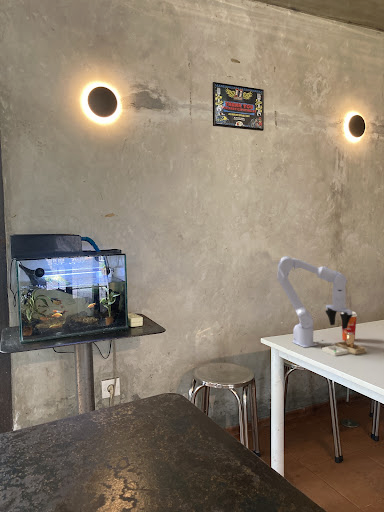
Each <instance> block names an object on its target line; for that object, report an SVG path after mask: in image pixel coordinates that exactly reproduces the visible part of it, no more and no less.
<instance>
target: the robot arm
mask: <svg viewBox="0 0 384 512" xmlns="http://www.w3.org/2000/svg"><path fill="white" fill-rule="evenodd" d="M292 269H296V270H298V269H303V270H306V271H307V272H311V273H313V274H315V275H316V277H317V278H319V279H321V280H324V281H326V282H327V283H332V295H331V296H332V302H331V303H332V304H326V305H325V309H326V310H325V314H326V315H327V317H328V320H329V324H330V326H334V325H335V324H336V316H337V312H339V313H340V314H339V315H340V318H341V329H342V328H343V329H347V326H348V323H349V320H350V318H351V317H352V312H353V310H352V309H349V308H347V306H346V284H347V283H348V279H347V277H346V275H344V274H343V273H341V272H340V271H338V270H336V269H335V270H334V269H330V268H329V267H328V266H326V265H325V266H320V267H319V266H318V267H317V266H316V265H313V264H311V263H309V262H307V261H304V260H302V259H299V258H296V257H291V256H288V255H285V256H282V257H281V258H280V260H279V262H278V265H277V273H276V275H277V276H276V278H277V281H278V283H279V285H280V286H281V288H282V290H283V291H284V293H285V295H286V297H287V299H288V300H289V302H290V303H291V306H292V307H293V309H294V311H295V313H296V316H297V317H298V320H299V323H298V324H295V325H294V327H293V329H292V330H293V331H292V333H293V337H292V338H293V340H292V341H291V343H293V344H295V345H298V346H300V347H302V348H308V347H314V346H318V344H317V343H316V342H314V319H313V316H312V314H311V312H310V311H308V310H307V309H306V307H305V306H304V304H303V302H302V300H301V299H300V297H299V296H298V293H297V292H296V290H295V288H294V287H293V285H292V283H291V281H290V280H289V278H288V277H289V275H290V272H291V271H292ZM341 313H344V314H341Z"/></svg>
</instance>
